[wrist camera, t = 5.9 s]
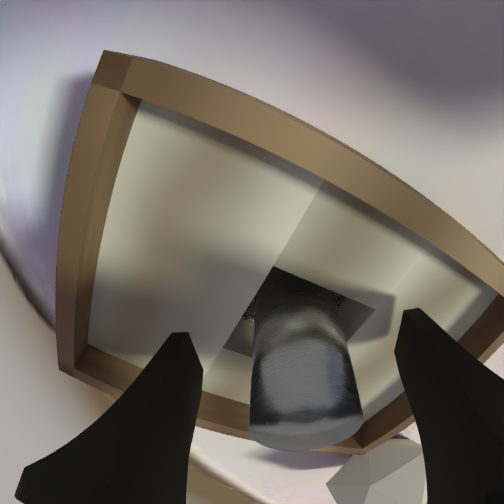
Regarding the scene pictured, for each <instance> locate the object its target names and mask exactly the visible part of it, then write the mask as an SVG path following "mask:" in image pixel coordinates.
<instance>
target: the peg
mask: <svg viewBox="0 0 504 504" xmlns="http://www.w3.org/2000/svg"><path fill="white" fill-rule="evenodd" d="M363 421H364V416H363V411H362V406H361V402H360V397H359V392H358V388H357V383H356V379H355V375H354V370H353V366H352V362H351V358H350V354H349V350H348V346H347V342H346V338H345V334H344V330H343V326H342V322H341V319H340V315H339V311H338V308H337V304H336V300H335V297H334V293H333V291H331V290H329V289H326V288H324V287H322V286H319V285H317V284H315V283H312V282H310V281H307V280H305V279H303V278H300V277H298V276H296V275H293V274H291V273H289V272H286V271H284V270H282V269H279V268H277V267H275V266H273V267H272V269H271V270H270V272H269V274H268V275H267V277H266V278H265V280H264V282H263V283H262V285H261V287H260V288H259V290H258V291H257V293H256V303H255V321H254V339H253V356H252V374H251V391H250V408H249V424H248V432H249V435H250V436H251V437H252V439H254V440H255V441H256V442H258V443H259V444H262V445H264V446H266V447H270V448H273V449H279V450H286V451H304V450H313V449H319V448H323V447H327V446H331V445H334V444H336V443H339V442H341V441H343V440H345V439H347V438H349V437H350V436H352V435H353V434H354V433H356V432H357V431H358V430H359V429H360V427H361V426H362V424H363Z"/></svg>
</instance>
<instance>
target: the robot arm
mask: <svg viewBox="0 0 504 504" xmlns="http://www.w3.org/2000/svg"><path fill="white" fill-rule="evenodd" d="M394 354H395V358H396V363H397V367H398V371H399V375H400V378H401V381H402V384H403V387H404V389H405V392H406V395H407V398H408V401H409V404H410V406H411V409H412V412H413V415H414V418H415V421H416V424H417V427H418V431H419V435H420V439H421V445H422V450H423V456H424V464H425V472H426V483H427V504H504V379H502V378H501V377H499V376H498V375H497V374H495V373H494V372H492V371H491V370H490V369H488V368H487V367H486V366H485V365H483V364H482V363H481V362H480V361H479V360H477V359H476V358H475V357H474V356H472V355H471V354H470V353H469V352H468V351H467V350H465V349H464V348H463V347H462V346H461V345H460V344H459V343H458V342H456V341H455V340H454V339H453V338H452V337H451V336H450V335H449V334H448V333H447V332H446V331H444V330H443V329H442V328H441V327H440V326H439V325H438V324H437V323H436V322H435V321H434V320H433V319H431V318H430V317H429V316H428V315H427V314H426V313H425V312H424V311H423V310H421V309H420V308H414V309H408V310H403V315H402V319H401V324H400V328H399V333H398V337H397V341H396V345H395V349H394ZM203 371H204V370H203V367H202V365H201V363H200V360H199V358H198V355H197V353H196V350H195V347H194V345H193V342H192V340H191V337H190V335H189V332H172V333H171V334H170V336H169V337H168V338H167V339H166V341H165V342H164V343H163V344H162V346H161V347H160V348H159V350H158V351H157V352H156V354H155V355H154V356H153V358H152V359H151V360H150V361H149V363H148V364H147V365H146V367H145V368H144V369H143V370H142V372H141V373H140V374H139V375H138V377H137V378H136V379H135V380H134V381H133V383H132V384H131V385H130V386H129V387H128V388H127V389H126V391H125V392H124V393H123V394H122V395H121V396H120V397H119V399H118V400H117V401H116V402H115V403H114V404H113V405H112V406H111V407H110V408H109V409H108V410H107V411H106V412H105V413H104V414H103V415H102V416H101V417H100V418H99V419H97V420H96V421H95V422H94V423H93V424H92V425H90V426H89V427H88V428H87V429H85V430H84V431H83V432H82V433H80V434H79V435H78V436H77V437H76V438H74V439H73V440H71V441H70V442H68V443H67V444H66V445H64V446H63V447H61V448H59V449H58V450H56V451H55V452H54V453H51V454H50V455H48V456H46V457H45V458H43V459H40V460H38V461H37V462H35V463H33V464H31V465H29V466H26V467H25V468H24V470H23V473H22V476H21V478H20V481H19V484H18V487H17V490H16V493H15V497H16V499H17V500H19V501H20V502H22V503H24V504H186V485H187V472H188V460H189V453H190V447H191V442H192V438H193V433H194V428H195V424H196V419H197V415H198V410H199V405H200V400H201V395H202V384H203Z"/></svg>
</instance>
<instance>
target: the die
mask: <svg viewBox="0 0 504 504" xmlns="http://www.w3.org/2000/svg"><path fill="white" fill-rule="evenodd" d="M326 485H327V487H328V489H329V490H330V492H331V494H332V496H333V498H334V499H335V501H336V503H337V504H426V502H427V483H426V472H425V464H424V456H423V450H422V446H421V445H419V444H417V443H416V442H414V441H412V440H410V439H400V438H390V439H389V440H387V441H386V442H384V443H382V444H381V445H379V446H378V447H376V448H374V449H373V450H371V451H369V452H368V453H366V454H364V455H354V454H353V455H352V456H351V457H350V459H349V460H348V461H347V462H346V463H345V464H344V465H343V466H342V468H341V469H340V470H339V471H338V472H337V473H336V474H335V475H334V476H333V477H332V478H331V479H330V480H329V481H328V482H327V483H326Z"/></svg>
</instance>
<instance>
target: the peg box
mask: <svg viewBox="0 0 504 504" xmlns="http://www.w3.org/2000/svg"><path fill="white" fill-rule="evenodd" d="M273 266H275V267H277V268H279V269H282V270H284V271H286V272H289V273H291V274H293V275H296V276H298V277H300V278H303V279H305V280H307V281H310V282H312V283H315V284H317V285H319V286H322V287H324V288H326V289H329V290H331V291H333V292H336V293H338V294H340V295H343V296H345V297H346V298H345V300H344V301H343V302H342V303H341V305H340V306H339V307H338V311H339V315H340V319H341V322H342V326H343V330H344V334H345V338H346V342H347V346H348V350H349V354H350V358H351V362H352V366H353V370H354V375H355V379H356V383H357V388H358V392H359V397H360V402H361V406H362V411H363V416H364V421H363V424H362V426H361V427H360V429H359V430H358V431H357V432H356V433H354V434H353V435H352V436H350V437H349V438H347V439H345V440H343V441H341V442H339V443H336V444H334V445H331V446H327V447H323V448H319V449H313V450H312V451H320V452H330V453H341V454H354V455H364V454H366V453H368V452H369V451H371V450H373V449H374V448H376V447H378V446H379V445H381V444H382V443H384V442H386V441H387V440H389V439H390V438H392V437H393V436H395V435H396V434H398V433H399V432H401V431H402V430H404V429H405V428H407V427H408V426H409V425H411V424H412V423H414V422H415V418H414V415H413V412H412V409H411V406H410V404H409V401H408V398H407V395H406V392H405V389H404V387H403V384H402V381H401V378H400V375H399V371H398V367H397V363H396V358H395V354H394V349H395V345H396V341H397V337H398V333H399V328H400V324H401V319H402V315H403V310H408V309H414V308H420V309H421V310H423V311H424V312H425V313H426V314H427V315H428V316H429V317H430V318H431V319H433V320H434V321H435V322H436V323H437V324H438V325H439V326H440V327H441V328H442V329H443V330H444V331H446V332H447V333H448V334H449V335H450V336H451V337H452V338H453V339H454V340H455V341H456V342H458V343H459V344H460V345H461V346H462V347H463V348H464V349H465V350H467V351H468V352H469V353H470V354H471V355H472V356H474V357H475V358H476V359H477V360H479V361H480V362H481V363H482V364H484V363H485V362H486V361H487V360H488V359H489V358H490V356H491V355H492V354H493V353H494V352H495V351H496V350H497V349H498V348H499V347H500V346H501V345H502V344H503V343H504V263H503V262H502V261H501V260H500V259H499V258H498V257H497V256H496V255H495V254H494V253H493V252H492V251H490V250H489V249H488V248H487V247H486V246H485V245H484V244H483V243H482V242H480V241H479V240H478V239H477V238H476V237H475V236H474V235H472V234H471V233H470V232H469V231H468V230H467V229H465V228H464V227H463V226H462V225H461V224H459V223H458V222H457V221H456V220H454V219H453V218H452V217H451V216H449V215H448V214H447V213H446V212H444V211H443V210H442V209H441V208H439V207H438V206H437V205H435V204H434V203H433V202H431V201H430V200H429V199H427V198H426V197H425V196H423V195H422V194H421V193H419V192H418V191H416V190H415V189H414V188H412V187H411V186H409V185H408V184H407V183H405V182H404V181H402V180H401V179H399V178H398V177H396V176H395V175H393V174H392V173H390V172H389V171H387V170H386V169H384V168H383V167H381V166H380V165H378V164H377V163H375V162H374V161H372V160H370V159H369V158H367V157H366V156H364V155H362V154H361V153H359V152H357V151H356V150H354V149H352V148H351V147H349V146H347V145H346V144H344V143H342V142H341V141H339V140H337V139H335V138H334V137H332V136H330V135H328V134H326V133H325V132H323V131H321V130H319V129H317V128H315V127H314V126H312V125H310V124H308V123H306V122H304V121H302V120H300V119H298V118H296V117H294V116H292V115H290V114H288V113H286V112H284V111H282V110H280V109H278V108H276V107H274V106H272V105H270V104H268V103H265V102H263V101H261V100H259V99H257V98H254V97H252V96H250V95H248V94H245V93H243V92H241V91H238V90H236V89H234V88H231V87H229V86H226V85H224V84H221V83H219V82H216V81H214V80H211V79H208V78H206V77H203V76H200V75H198V74H195V73H192V72H189V71H187V70H184V69H181V68H178V67H175V66H172V65H169V64H166V63H162V62H159V61H156V60H152V59H147V58H143V57H138V56H134V55H129V54H124V53H118V52H113V51H107V50H104V51H103V54H102V56H101V59H100V61H99V64H98V66H97V69H96V72H95V75H94V78H93V80H92V83H91V86H90V89H89V92H88V95H87V99H86V102H85V105H84V108H83V112H82V115H81V119H80V123H79V126H78V130H77V134H76V138H75V142H74V146H73V151H72V155H71V160H70V165H69V170H68V175H67V180H66V186H65V192H64V198H63V205H62V212H61V220H60V229H59V239H58V251H57V267H56V339H57V354H58V365H59V370H61V371H63V372H65V373H67V374H68V375H71V376H72V377H74V378H76V379H79V380H80V381H82V382H84V383H86V384H89V385H90V386H93V387H95V388H97V389H99V390H101V391H103V392H105V393H108V394H110V395H112V396H114V397H117V398H119V397H120V396H121V395H122V394H123V393H124V392H125V391H126V389H127V388H128V387H129V386H130V385H131V384H132V383H133V381H134V380H135V379H136V378H137V377H138V375H139V374H140V373H141V372H142V370H143V369H144V368H145V367H146V365H147V364H148V363H149V361H150V360H151V359H152V358H153V356H154V355H155V354H156V352H157V351H158V350H159V348H160V347H161V346H162V344H163V343H164V342H165V341H166V339H167V338H168V337H169V336H170V334H171V333H172V332H189V335H190V337H191V340H192V342H193V345H194V347H195V350H196V353H197V355H198V358H199V360H200V363H201V365H202V367H203V370H204V371H203V384H202V395H201V400H200V405H199V410H198V415H197V419H196V424H195V426H197V427H201V428H204V429H208V430H211V431H215V432H219V433H223V434H227V435H231V436H235V437H239V438H243V439H248V440H252V441H255V440H254V439H252V437H251V436H250V435H249V432H248V424H249V408H250V391H251V374H252V356H253V339H254V322H251V321H249V320H246V319H243V318H241V317H242V316H243V314H244V313H245V311H246V309H247V308H248V306H249V304H250V303H251V301H252V300H253V298H254V296H255V295H256V293H257V291H258V290H259V288H260V287H261V285H262V283H263V282H264V280H265V278H266V277H267V275H268V274H269V272H270V270H271V269H272V267H273Z"/></svg>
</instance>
